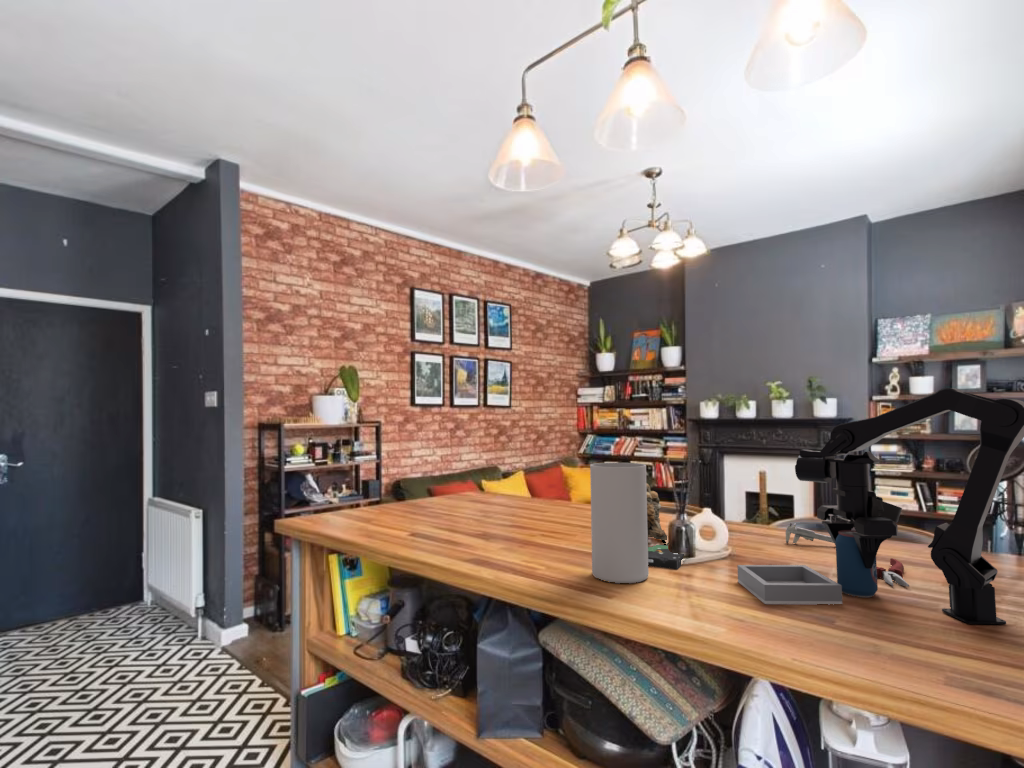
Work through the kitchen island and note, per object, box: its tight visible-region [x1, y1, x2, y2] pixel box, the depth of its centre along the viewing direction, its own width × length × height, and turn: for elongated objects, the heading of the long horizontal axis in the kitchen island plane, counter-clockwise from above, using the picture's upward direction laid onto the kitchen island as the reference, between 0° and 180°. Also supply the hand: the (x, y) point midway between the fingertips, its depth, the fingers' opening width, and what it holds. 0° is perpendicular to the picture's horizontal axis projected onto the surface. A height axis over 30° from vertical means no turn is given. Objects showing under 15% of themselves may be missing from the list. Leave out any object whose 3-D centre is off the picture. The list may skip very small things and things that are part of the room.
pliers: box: [877, 558, 910, 588], centre depth 124 cm, size 12×20×3 cm, turn 163°
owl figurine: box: [646, 482, 668, 541], centre depth 160 cm, size 18×12×17 cm, turn 158°
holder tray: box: [737, 564, 843, 606], centre depth 113 cm, size 14×14×4 cm
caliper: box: [785, 521, 835, 544], centre depth 153 cm, size 20×1×6 cm, turn 69°
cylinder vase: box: [589, 462, 650, 584], centre depth 126 cm, size 12×12×25 cm
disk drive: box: [648, 544, 684, 570], centre depth 140 cm, size 10×3×15 cm
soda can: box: [835, 529, 879, 598], centre depth 113 cm, size 7×7×12 cm
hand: (856, 562), depth 113 cm, fingers open, 8 cm apart
